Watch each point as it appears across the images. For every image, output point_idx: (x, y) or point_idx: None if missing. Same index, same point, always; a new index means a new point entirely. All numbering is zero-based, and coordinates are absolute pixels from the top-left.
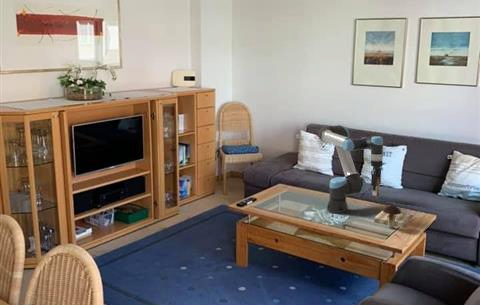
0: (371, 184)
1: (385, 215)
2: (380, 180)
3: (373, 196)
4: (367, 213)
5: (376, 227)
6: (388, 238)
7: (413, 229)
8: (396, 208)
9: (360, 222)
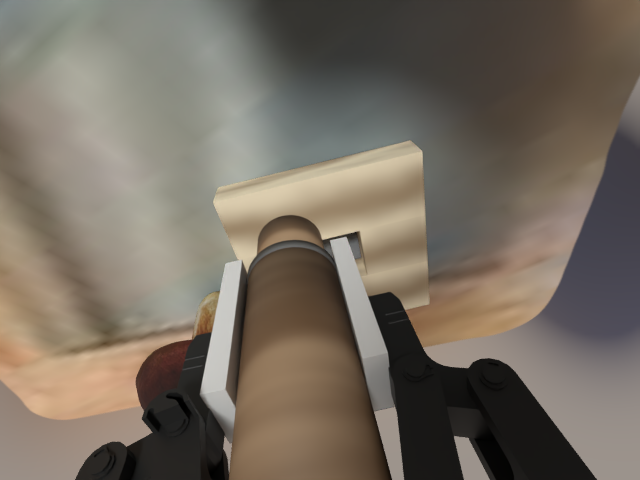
0: (80, 477)
1: (325, 225)
2: (501, 457)
3: (258, 246)
4: (369, 23)
5: (151, 247)
6: (81, 357)
7: None
8: None
9: (126, 117)
